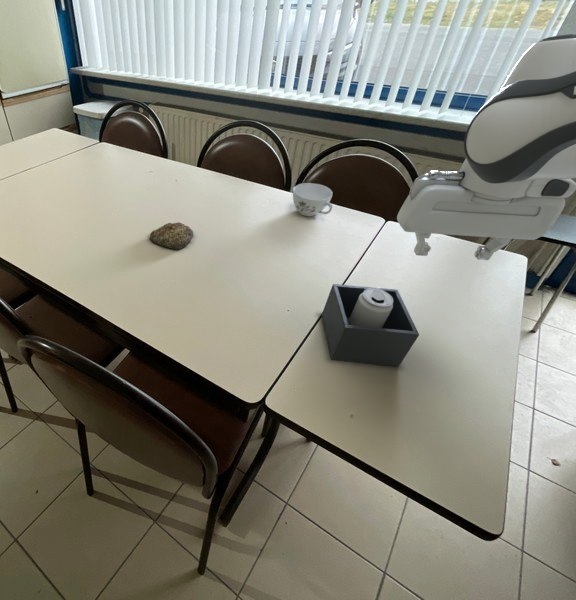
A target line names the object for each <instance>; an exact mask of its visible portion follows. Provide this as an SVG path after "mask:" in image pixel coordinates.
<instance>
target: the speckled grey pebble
mask: <svg viewBox="0 0 576 600" xmlns="http://www.w3.org/2000/svg"><path fill="white" fill-rule="evenodd" d="M193 236H194V230H193V229H192V228H191V227H190V226H188V225H185V224H184V223H182V222H179V221H178V222H173V223H171V222H168V223H165V224H164V225H162V226H160V227H159V228H157V229H153V230H152V231H151V232H150V234H149V239H150V240H151V241H152V242H154V243H155V244H157V245H159V246H161V247H164V248H169V249H173V250H180V249H183V248H185V247H186V246H187V245H189V244H190V243H191V241H192V239H193Z"/></svg>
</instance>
